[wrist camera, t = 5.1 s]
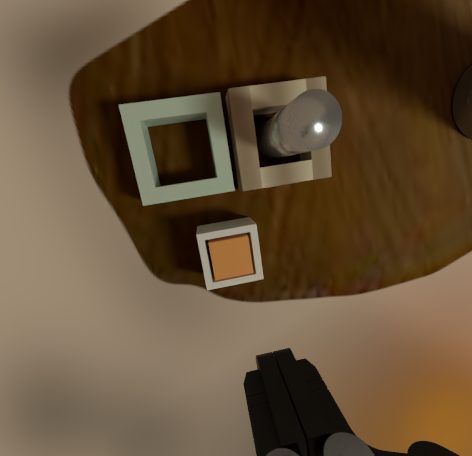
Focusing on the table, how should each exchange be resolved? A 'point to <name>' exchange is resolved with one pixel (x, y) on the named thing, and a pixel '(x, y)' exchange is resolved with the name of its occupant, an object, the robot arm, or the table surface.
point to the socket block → (244, 137)
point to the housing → (221, 231)
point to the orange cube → (230, 256)
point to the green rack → (171, 112)
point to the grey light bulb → (301, 125)
